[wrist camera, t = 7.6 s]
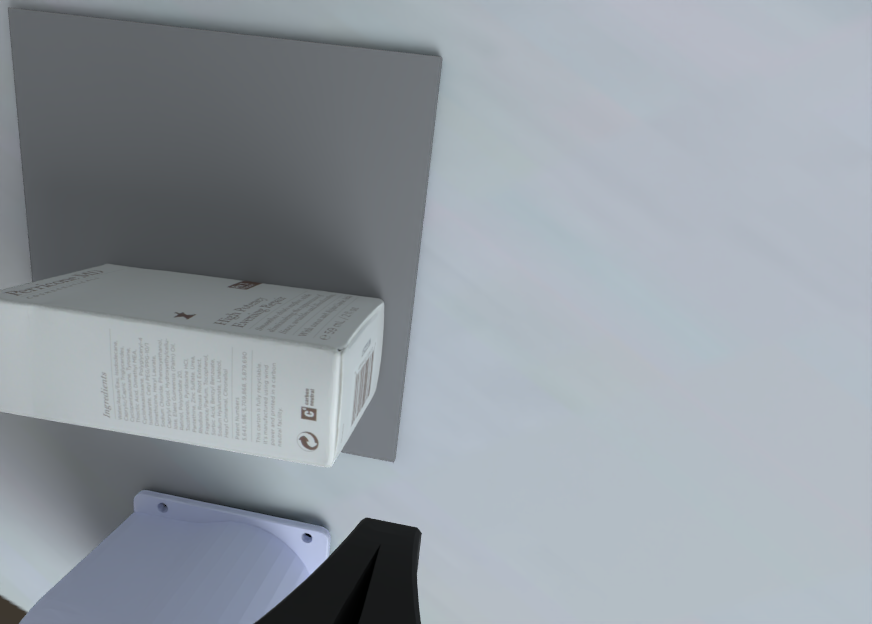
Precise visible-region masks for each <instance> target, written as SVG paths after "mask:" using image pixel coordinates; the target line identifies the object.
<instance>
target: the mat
mask: <svg viewBox="0 0 872 624" xmlns="http://www.w3.org/2000/svg"><path fill="white" fill-rule="evenodd" d="M8 14H9V26H10V37H11V48H12V59H13V70H14V81H15V93H16V104H17V115H18V126H19V137H20V148H21V159H22V171H23V182H24V193H25V204H26V215H27V226H28V238H29V249H30V260H31V271H32V282H36V281H40V280H44V279H48V278H52V277H56V276H60V275H65V274H69V273H73V272H77V271H81V270H85V269H89V268H93V267H97V266H101V265H104V264H113V265H120V266H127V267H136V268H143V269H152V270H163V271H172V272H179V273H187V274H196V275H204V276H211V277H219V278H227V279H234V280H242V281H251V282H257V283H264V284H273V285H280V286H288V287H296V288H304V289H311V290H320V291H327V292H334V293H342V294H349V295H357V296H364V297H372V298H379V299H381V300H382V301H383V302H384V330H383V345H382V355H381V364H380V370H379V377H378V382H377V387H376V391H375V393H374V395H373V397H372V399H371V401H370V403H369V404H368V406H367V408H366V409H365V411H364V413H363V415H362V416H361V418H360V420H359V422H358V423H357V425H356V427H355V428H354V430H353V432H352V434H351V435H350V437H349V439H348V440H347V442H346V444H345V445H344V447H343V449H342V451H341V452H343V453H348V454H353V455H358V456H363V457H369V458H374V459H379V460H384V461H389V462H394V461H395V457H396V449H397V440H398V432H399V423H400V415H401V406H402V398H403V389H404V381H405V372H406V364H407V355H408V347H409V338H410V330H411V321H412V313H413V304H414V296H415V287H416V279H417V270H418V262H419V253H420V245H421V236H422V228H423V219H424V211H425V202H426V194H427V185H428V177H429V168H430V160H431V151H432V143H433V134H434V126H435V117H436V109H437V100H438V92H439V83H440V75H441V66H442V57H438V56H430V55H421V54H412V53H403V52H395V51H386V50H377V49H368V48H359V47H351V46H342V45H333V44H324V43H316V42H307V41H298V40H289V39H280V38H272V37H263V36H254V35H245V34H237V33H228V32H219V31H210V30H201V29H193V28H184V27H175V26H166V25H158V24H149V23H140V22H131V21H122V20H114V19H105V18H96V17H87V16H79V15H70V14H61V13H52V12H44V11H35V10H26V9H17V8H8Z"/></svg>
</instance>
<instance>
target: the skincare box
mask: <svg viewBox="0 0 872 624" xmlns="http://www.w3.org/2000/svg"><path fill="white" fill-rule="evenodd" d="M383 330H384V302H383V301H382V300H381V299H379V298H372V297H364V296H357V295H349V294H342V293H334V292H327V291H320V290H311V289H304V288H296V287H288V286H280V285H273V284H264V283H257V282H251V281H242V280H234V279H227V278H219V277H211V276H204V275H196V274H187V273H179V272H172V271H163V270H152V269H143V268H136V267H127V266H120V265H113V264H104V265H101V266H97V267H93V268H89V269H85V270H81V271H77V272H73V273H69V274H65V275H60V276H56V277H52V278H48V279H44V280H40V281H36V282H32V283H28V284H24V285H20V286H16V287H12V288H8V289H4V290H0V412H4V413H10V414H16V415H21V416H27V417H33V418H39V419H45V420H50V421H56V422H62V423H68V424H74V425H80V426H86V427H92V428H98V429H104V430H110V431H116V432H122V433H127V434H133V435H139V436H145V437H151V438H157V439H163V440H169V441H174V442H180V443H186V444H191V445H197V446H203V447H209V448H214V449H220V450H226V451H231V452H237V453H243V454H249V455H255V456H260V457H266V458H273V459H278V460H283V461H289V462H296V463H302V464H307V465H313V466H320V467H331V466H332V465H333V464H334V462H335V461H336V459H337V457H338V456H339V454H340V452H341V451H342V449H343V447H344V445H345V444H346V442H347V440H348V439H349V437H350V435H351V434H352V432H353V430H354V428H355V427H356V425H357V423H358V422H359V420H360V418H361V416H362V415H363V413H364V411H365V409H366V408H367V406H368V404H369V403H370V401H371V399H372V397H373V395H374V393H375V391H376V387H377V382H378V377H379V370H380V364H381V355H382V345H383Z"/></svg>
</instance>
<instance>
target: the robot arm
mask: <svg viewBox="0 0 872 624" xmlns="http://www.w3.org/2000/svg"><path fill="white" fill-rule="evenodd" d="M163 503H164V504H165V505H166V506H167V507H166V506H164V505H163ZM133 504H134V512H133V513H132V514H131V515H130V516H129V517H128V518H127V519H126V520H125V521H124V522H123V523H122V524H120V525H119V526H118V527H117V528H116V529H115V530H114V531H113V532H112V533H111V534H110V535H109V536H108V537H106V538H105V539H104V540H103V541H102V542H101V543H100V544H99V545H98V546H97V547H96V548H95V549H94V550H92V551H91V552H90V553H89V554H88V555H87V556H86V557H85V558H84V559H83V560H82V561H81V562H80V563H78V564H77V565H76V566H75V567H74V568H73V569H72V570H71V571H70V572H69V573H68V574H67V575H66V576H64V577H63V578H62V579H61V580H60V581H59V582H58V583H57V584H56V585H55V586H54V587H53V588H52V589H50V590H49V591H48V592H47V593H46V594H45V595H44V596H43V597H42V598H41V599H40V600H39V601H38V602H37V603H36V604H35V605H34V606H33V607H32V608H31V609H30V611H29V612H28V613H27V614H26V616H25V617H24V618H23V619H22V620H21V622H20V623H19V624H421V621H420V612H419V602H418V589H417V569H418V560H419V551H420V542H421V534H422V533H421V532H420V530H419V529H418V528H416V527H411V526H406V525H401V524H396V523H391V522H386V521H381V520H376V519H371V518H365V519H363V520H361V521H360V523H359V524H358V525H357V526H356V527H355V529H354V530H353V531H352V532H351V533H350V534H349V536H348V537H347V538H346V539H345V540H344V541H343V542H342V543H341V544H340V545H339V547H338V548H337V549H336V550H335V551H334V552H333V553H332V554H331V555H330V556H329V551H330V539H331V537H330V533H329V531H328V530H327V529H326V528H324V527H322V526H318V525H313V524H308V523H303V522H299V521H294V520H289V519H284V518H279V517H274V516H270V515H265V514H260V513H255V512H250V511H245V510H241V509H236V508H231V507H226V506H221V505H216V504H212V503H207V502H202V501H197V500H192V499H187V498H183V497H178V496H173V495H168V494H163V493H159V492H154V491H149V490H142V491H140V492H139V493H138V494H137V495H136V496H135V497H134V500H133ZM305 533H308V534H310V535H311V536H312V537H308V536H306V534H305Z"/></svg>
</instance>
